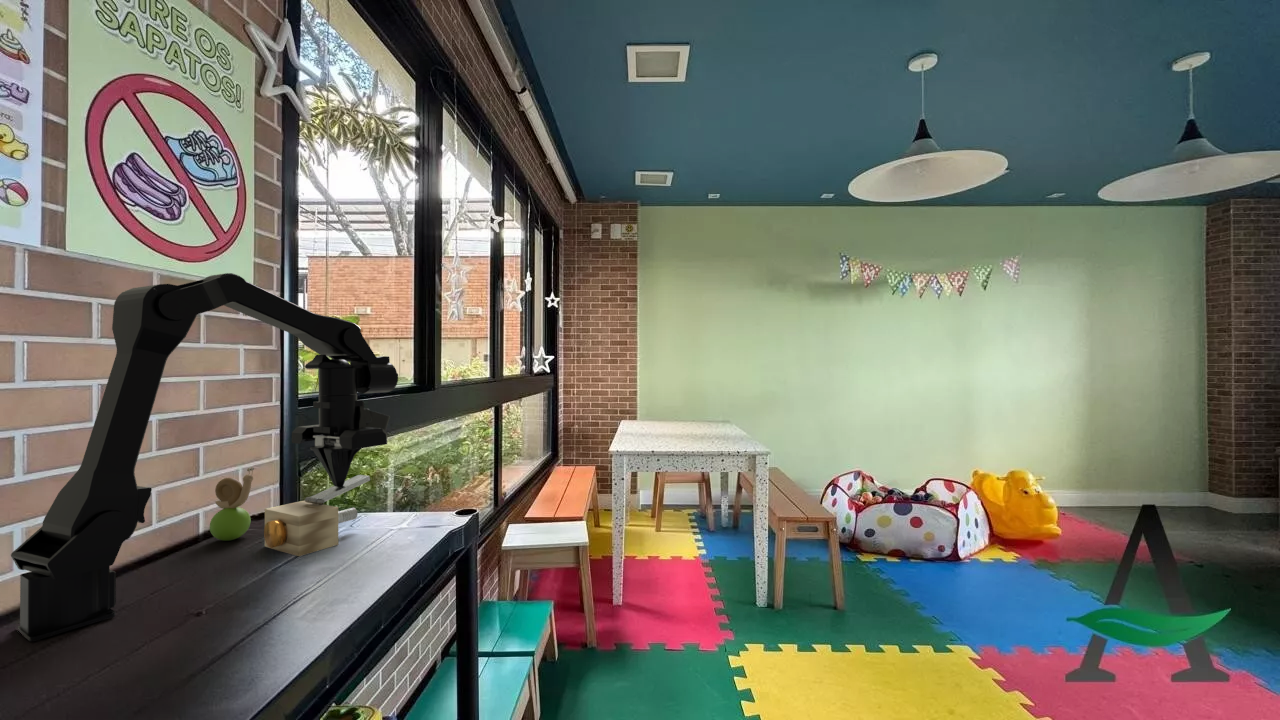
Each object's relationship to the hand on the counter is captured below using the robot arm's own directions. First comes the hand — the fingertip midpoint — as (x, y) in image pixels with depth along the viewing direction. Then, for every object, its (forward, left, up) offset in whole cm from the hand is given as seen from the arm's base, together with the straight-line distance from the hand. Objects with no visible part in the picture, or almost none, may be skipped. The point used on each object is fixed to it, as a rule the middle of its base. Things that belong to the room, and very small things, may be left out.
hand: (339, 486), depth 89 cm
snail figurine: (-10, +14, -9) cm, 19 cm away
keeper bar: (0, 0, -1) cm, 1 cm away
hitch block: (-6, 0, -8) cm, 10 cm away
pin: (-4, 0, -7) cm, 8 cm away
